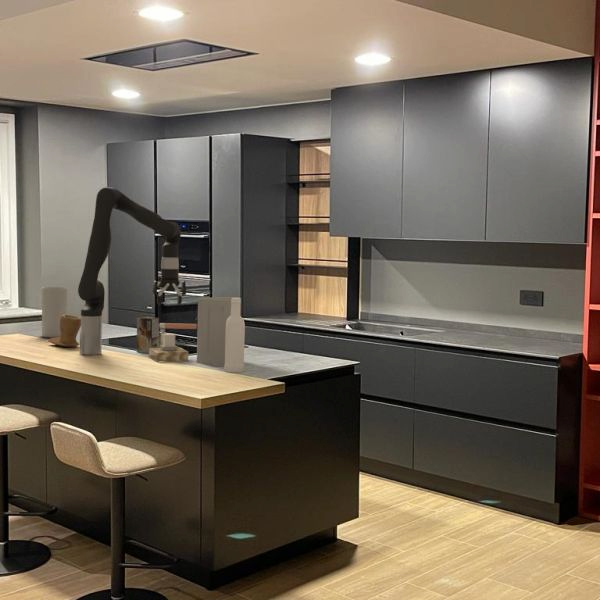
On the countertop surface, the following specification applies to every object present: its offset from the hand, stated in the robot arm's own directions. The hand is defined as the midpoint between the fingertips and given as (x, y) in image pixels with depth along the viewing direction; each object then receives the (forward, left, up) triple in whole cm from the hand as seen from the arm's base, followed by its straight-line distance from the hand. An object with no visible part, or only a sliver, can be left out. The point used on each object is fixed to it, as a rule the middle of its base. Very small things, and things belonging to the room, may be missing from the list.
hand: (169, 304), depth 375 cm
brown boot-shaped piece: (-37, +49, -24) cm, 66 cm away
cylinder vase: (-38, +86, -24) cm, 97 cm away
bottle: (+18, -37, -24) cm, 48 cm away
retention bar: (+6, +9, -12) cm, 16 cm away
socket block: (0, 0, -24) cm, 24 cm away
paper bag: (+20, -17, -24) cm, 36 cm away
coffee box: (-4, +22, -24) cm, 33 cm away
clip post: (0, +11, -24) cm, 26 cm away
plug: (0, 0, -24) cm, 24 cm away
